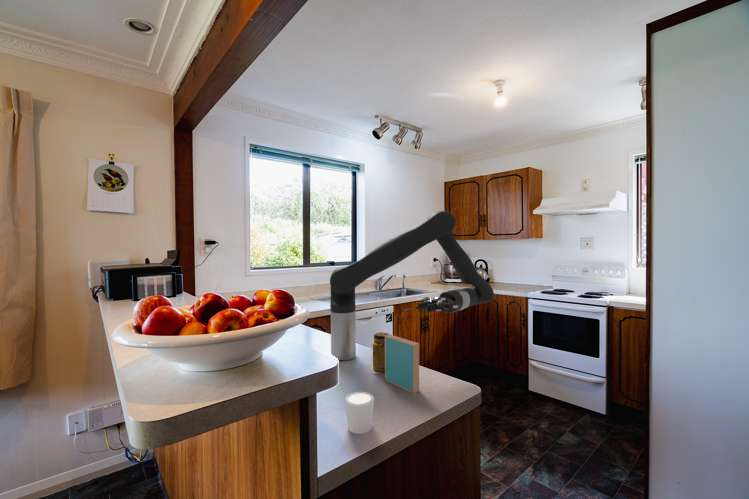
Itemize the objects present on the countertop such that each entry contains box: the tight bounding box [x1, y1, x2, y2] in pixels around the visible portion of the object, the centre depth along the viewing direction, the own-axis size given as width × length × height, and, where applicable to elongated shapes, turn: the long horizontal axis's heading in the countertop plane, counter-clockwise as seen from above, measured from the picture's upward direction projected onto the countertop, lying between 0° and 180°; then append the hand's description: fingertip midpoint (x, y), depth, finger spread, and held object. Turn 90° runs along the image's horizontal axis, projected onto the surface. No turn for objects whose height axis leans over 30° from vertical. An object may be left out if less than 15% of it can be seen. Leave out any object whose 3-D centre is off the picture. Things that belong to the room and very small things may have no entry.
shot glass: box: [344, 391, 375, 435], centre depth 80 cm, size 7×7×7 cm
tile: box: [384, 334, 420, 394], centre depth 102 cm, size 2×12×14 cm, turn 42°
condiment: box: [370, 332, 390, 375], centre depth 114 cm, size 7×8×12 cm
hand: (423, 307), depth 108 cm, fingers open, 3 cm apart
